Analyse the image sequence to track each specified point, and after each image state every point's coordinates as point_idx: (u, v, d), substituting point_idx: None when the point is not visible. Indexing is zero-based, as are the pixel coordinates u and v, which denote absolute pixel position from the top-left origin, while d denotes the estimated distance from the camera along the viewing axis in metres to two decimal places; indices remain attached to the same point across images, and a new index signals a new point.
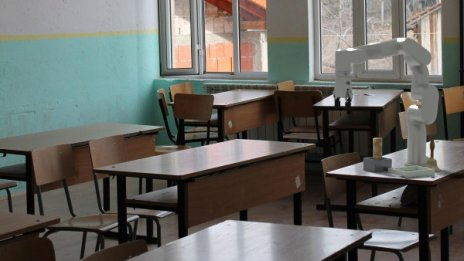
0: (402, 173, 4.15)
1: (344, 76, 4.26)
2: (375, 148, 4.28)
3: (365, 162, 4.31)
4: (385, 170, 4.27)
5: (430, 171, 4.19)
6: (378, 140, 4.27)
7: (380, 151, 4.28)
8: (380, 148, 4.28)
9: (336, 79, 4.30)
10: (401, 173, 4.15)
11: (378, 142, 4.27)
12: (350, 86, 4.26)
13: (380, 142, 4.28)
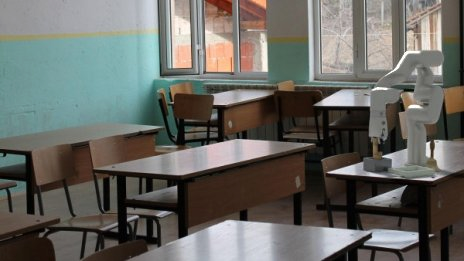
0: (402, 173, 4.15)
1: (379, 116, 4.24)
2: (375, 148, 4.28)
3: (365, 162, 4.31)
4: (385, 170, 4.27)
5: (430, 171, 4.19)
6: None
7: None
8: None
9: (371, 118, 4.29)
10: (401, 173, 4.15)
11: None
12: (385, 126, 4.25)
13: None
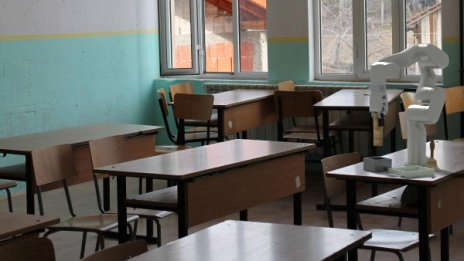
0: (402, 173, 4.15)
1: (380, 90, 4.23)
2: (375, 123, 4.27)
3: (365, 162, 4.31)
4: (385, 170, 4.27)
5: (430, 171, 4.19)
6: (378, 115, 4.26)
7: None
8: None
9: (371, 93, 4.28)
10: (401, 173, 4.15)
11: (378, 117, 4.26)
12: (386, 100, 4.24)
13: None
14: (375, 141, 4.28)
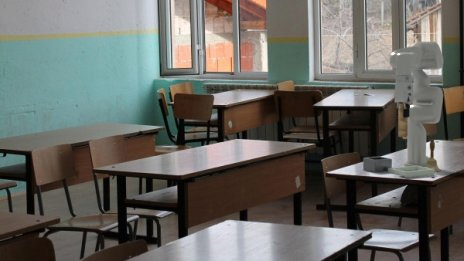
0: (402, 173, 4.15)
1: (405, 80, 4.16)
2: (400, 114, 4.20)
3: (365, 162, 4.31)
4: (385, 170, 4.27)
5: (430, 171, 4.19)
6: None
7: None
8: None
9: (397, 83, 4.21)
10: (401, 173, 4.15)
11: None
12: (411, 91, 4.16)
13: None
14: (400, 132, 4.21)
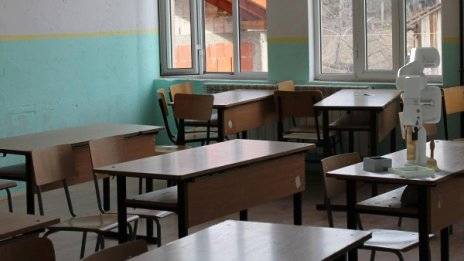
0: (402, 173, 4.15)
1: (414, 104, 4.15)
2: (409, 137, 4.19)
3: (365, 162, 4.31)
4: (385, 170, 4.27)
5: (430, 171, 4.19)
6: None
7: None
8: None
9: (405, 107, 4.20)
10: (401, 173, 4.15)
11: (412, 131, 4.18)
12: (420, 114, 4.16)
13: None
14: (408, 155, 4.20)
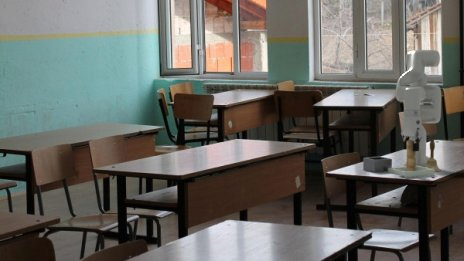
0: (402, 173, 4.15)
1: (414, 115, 4.16)
2: (408, 151, 4.20)
3: (365, 162, 4.31)
4: (385, 170, 4.27)
5: (430, 171, 4.19)
6: (412, 143, 4.19)
7: (414, 153, 4.20)
8: (414, 151, 4.19)
9: (405, 118, 4.21)
10: (401, 173, 4.15)
11: (412, 145, 4.19)
12: (420, 125, 4.16)
13: None
14: (408, 169, 4.21)
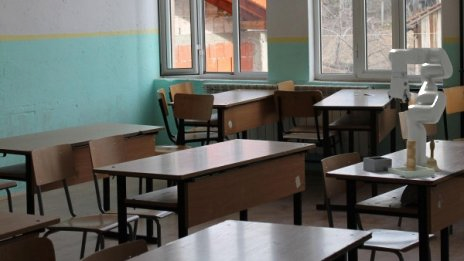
0: (402, 173, 4.15)
1: (401, 77, 4.26)
2: (408, 151, 4.20)
3: (365, 162, 4.31)
4: (385, 170, 4.27)
5: (430, 171, 4.19)
6: (412, 143, 4.19)
7: (414, 153, 4.20)
8: (414, 151, 4.20)
9: (392, 80, 4.31)
10: (401, 173, 4.15)
11: (412, 145, 4.19)
12: (407, 87, 4.27)
13: (414, 145, 4.19)
14: (408, 169, 4.21)
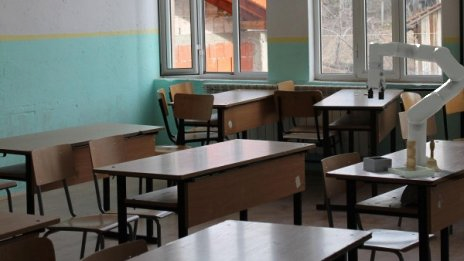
0: (402, 173, 4.15)
1: (377, 67, 4.50)
2: (408, 151, 4.20)
3: (365, 162, 4.31)
4: (385, 170, 4.27)
5: (430, 171, 4.19)
6: (412, 143, 4.19)
7: (414, 153, 4.20)
8: (414, 151, 4.20)
9: (370, 70, 4.55)
10: (401, 173, 4.15)
11: (412, 145, 4.19)
12: (383, 77, 4.50)
13: (414, 145, 4.19)
14: (408, 169, 4.21)
